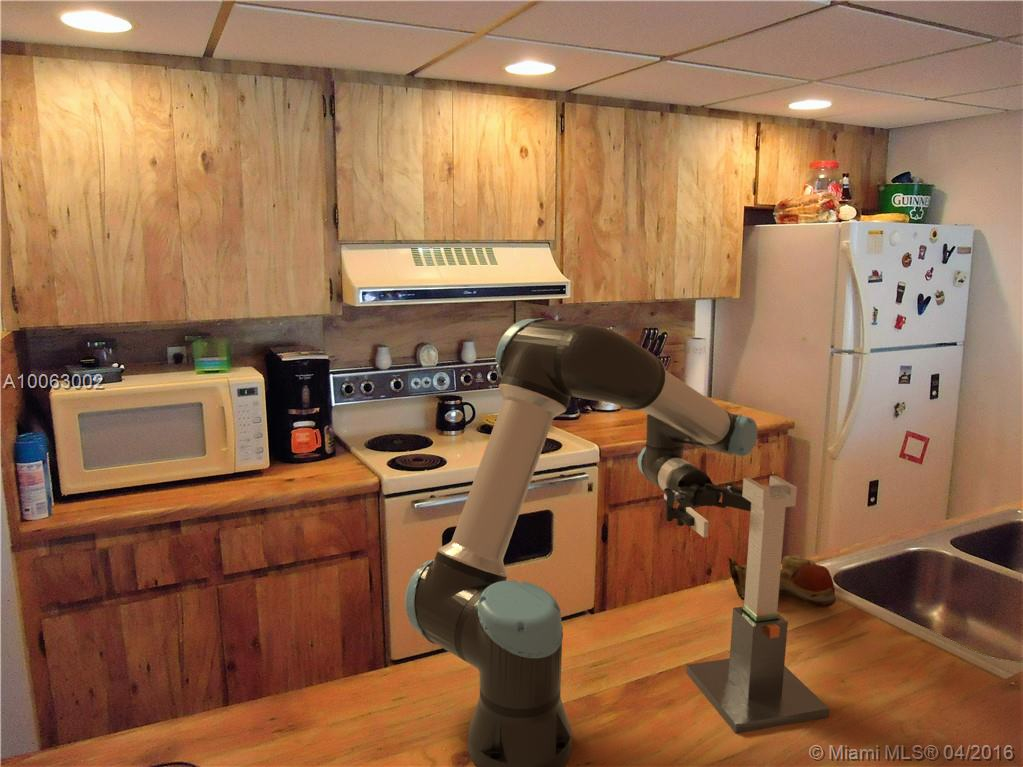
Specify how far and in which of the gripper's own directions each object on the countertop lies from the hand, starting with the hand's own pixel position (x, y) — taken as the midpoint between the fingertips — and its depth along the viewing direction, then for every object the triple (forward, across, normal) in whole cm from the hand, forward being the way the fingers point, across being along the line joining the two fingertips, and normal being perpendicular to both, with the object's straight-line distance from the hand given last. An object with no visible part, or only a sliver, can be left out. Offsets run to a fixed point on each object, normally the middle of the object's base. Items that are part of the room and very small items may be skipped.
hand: (744, 525), depth 122 cm
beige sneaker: (-21, -22, -27) cm, 41 cm away
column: (+7, 0, -18) cm, 19 cm away
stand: (+7, 0, -26) cm, 27 cm away
